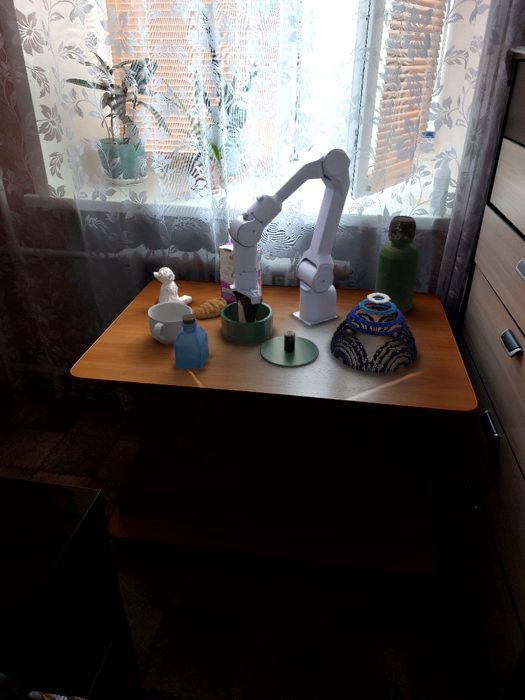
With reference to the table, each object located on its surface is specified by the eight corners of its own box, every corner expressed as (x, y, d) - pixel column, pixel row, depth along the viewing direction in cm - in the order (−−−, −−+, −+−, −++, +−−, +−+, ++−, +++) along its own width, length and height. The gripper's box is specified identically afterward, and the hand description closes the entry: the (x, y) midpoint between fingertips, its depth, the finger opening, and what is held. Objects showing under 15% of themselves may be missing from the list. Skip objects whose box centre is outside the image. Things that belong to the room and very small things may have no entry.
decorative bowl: (313, 344, 133) (316, 291, 125) (376, 324, 141) (382, 273, 134) (366, 384, 118) (372, 326, 111) (432, 359, 127) (442, 304, 119)
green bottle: (371, 297, 155) (381, 212, 143) (408, 298, 155) (421, 212, 142) (375, 314, 147) (385, 224, 134) (414, 315, 146) (427, 225, 133)
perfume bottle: (201, 370, 123) (198, 324, 117) (175, 368, 124) (171, 322, 118) (208, 356, 128) (205, 311, 122) (184, 354, 129) (179, 309, 123)
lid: (297, 334, 137) (297, 314, 134) (329, 358, 127) (331, 338, 124) (250, 348, 131) (249, 328, 128) (280, 375, 121) (280, 354, 118)
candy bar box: (262, 303, 153) (262, 248, 144) (253, 310, 149) (252, 254, 140) (230, 295, 158) (228, 241, 149) (220, 301, 154) (217, 246, 146)
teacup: (167, 325, 142) (164, 297, 138) (202, 333, 138) (200, 305, 134) (134, 349, 131) (130, 320, 127) (171, 359, 127) (168, 330, 123)
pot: (256, 316, 146) (256, 296, 143) (282, 336, 136) (282, 315, 133) (213, 328, 140) (212, 307, 137) (236, 350, 131) (236, 328, 128)
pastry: (202, 323, 143) (201, 311, 141) (189, 315, 147) (188, 302, 145) (231, 313, 148) (230, 300, 146) (217, 305, 152) (216, 293, 150)
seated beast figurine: (193, 301, 154) (189, 262, 148) (181, 315, 147) (177, 274, 141) (162, 298, 156) (157, 259, 150) (149, 311, 149) (144, 271, 143)
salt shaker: (250, 319, 140) (250, 294, 136) (259, 325, 137) (258, 301, 133) (235, 323, 138) (234, 298, 134) (244, 330, 135) (243, 305, 131)
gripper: (221, 259, 134) (223, 308, 141) (239, 281, 122) (241, 333, 129) (247, 255, 136) (249, 304, 143) (268, 276, 124) (268, 328, 131)
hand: (247, 317), depth 136 cm, fingers closed on salt shaker, 4 cm apart
